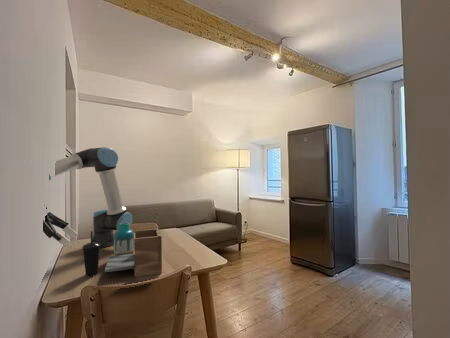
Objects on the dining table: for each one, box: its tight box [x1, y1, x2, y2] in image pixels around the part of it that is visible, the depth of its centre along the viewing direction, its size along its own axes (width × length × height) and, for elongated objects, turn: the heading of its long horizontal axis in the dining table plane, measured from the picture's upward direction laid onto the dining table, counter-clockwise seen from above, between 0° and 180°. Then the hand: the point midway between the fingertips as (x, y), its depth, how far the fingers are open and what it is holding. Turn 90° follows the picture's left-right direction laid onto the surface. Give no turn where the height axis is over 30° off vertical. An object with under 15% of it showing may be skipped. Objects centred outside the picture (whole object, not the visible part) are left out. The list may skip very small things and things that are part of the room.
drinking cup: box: [81, 231, 101, 277], centre depth 114 cm, size 8×8×20 cm
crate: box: [104, 228, 163, 278], centre depth 119 cm, size 18×24×17 cm
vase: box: [113, 223, 135, 256], centre depth 135 cm, size 11×11×19 cm
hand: (72, 240), depth 111 cm, fingers open, 13 cm apart
